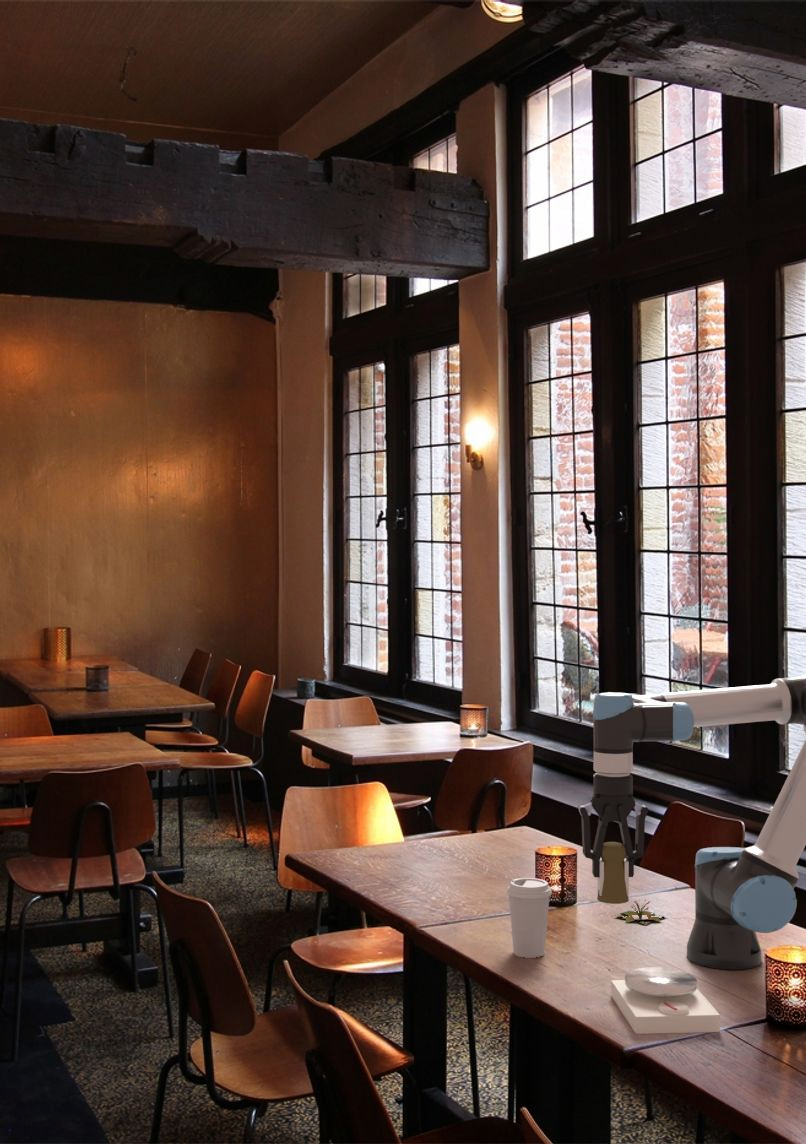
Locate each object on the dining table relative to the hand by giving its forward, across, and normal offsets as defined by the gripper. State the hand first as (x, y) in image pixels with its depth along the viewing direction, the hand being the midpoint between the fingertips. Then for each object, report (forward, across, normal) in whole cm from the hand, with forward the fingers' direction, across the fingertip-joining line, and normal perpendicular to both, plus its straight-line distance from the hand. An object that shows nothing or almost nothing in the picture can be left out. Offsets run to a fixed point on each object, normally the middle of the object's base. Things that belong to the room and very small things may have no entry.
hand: (613, 893), depth 240 cm
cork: (+1, 0, 0) cm, 1 cm away
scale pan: (+14, -7, +11) cm, 19 cm away
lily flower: (+19, -15, -48) cm, 54 cm away
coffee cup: (+19, +14, -22) cm, 32 cm away
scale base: (+19, -7, +13) cm, 24 cm away
